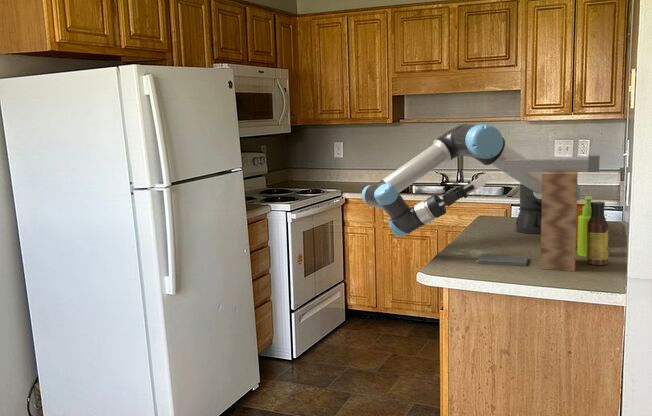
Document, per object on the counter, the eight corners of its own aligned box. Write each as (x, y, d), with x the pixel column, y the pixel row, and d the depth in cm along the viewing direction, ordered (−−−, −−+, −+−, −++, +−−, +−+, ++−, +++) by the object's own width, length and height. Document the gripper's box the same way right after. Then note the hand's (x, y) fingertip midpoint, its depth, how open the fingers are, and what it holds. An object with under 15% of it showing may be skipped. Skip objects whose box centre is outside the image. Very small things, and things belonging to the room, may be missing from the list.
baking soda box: (572, 241, 224) (573, 198, 222) (591, 242, 222) (592, 199, 220) (573, 247, 216) (574, 203, 213) (593, 248, 213) (594, 203, 211)
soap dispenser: (577, 257, 202) (578, 197, 199) (577, 252, 208) (578, 194, 205) (596, 258, 200) (598, 198, 197) (595, 253, 206) (597, 195, 203)
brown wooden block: (540, 269, 189) (542, 173, 185) (542, 258, 202) (544, 168, 197) (575, 271, 186) (577, 173, 181) (575, 260, 198) (577, 168, 194)
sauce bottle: (612, 265, 190) (614, 202, 187) (594, 267, 189) (596, 204, 186) (599, 260, 197) (601, 200, 194) (582, 262, 196) (583, 201, 193)
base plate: (478, 263, 199) (478, 260, 199) (482, 256, 207) (482, 254, 207) (526, 266, 193) (526, 263, 193) (528, 259, 202) (528, 256, 201)
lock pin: (503, 171, 193) (503, 156, 193) (504, 170, 198) (504, 155, 197) (599, 172, 183) (599, 156, 182) (598, 170, 187) (599, 154, 186)
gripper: (444, 212, 218) (497, 184, 209) (428, 225, 195) (486, 193, 187) (433, 194, 219) (486, 165, 210) (416, 204, 196) (474, 172, 187)
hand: (486, 178), depth 198 cm, fingers open, 13 cm apart
